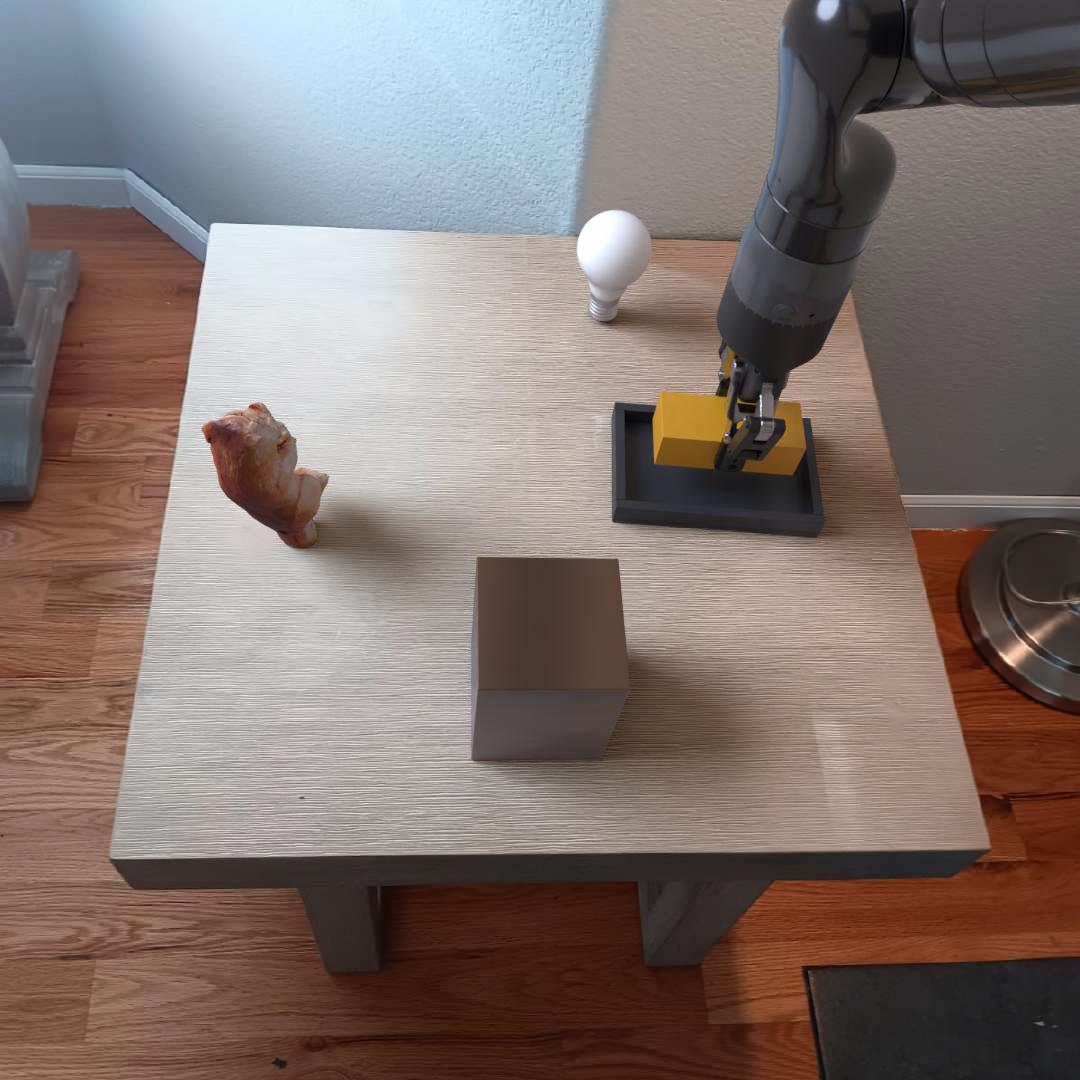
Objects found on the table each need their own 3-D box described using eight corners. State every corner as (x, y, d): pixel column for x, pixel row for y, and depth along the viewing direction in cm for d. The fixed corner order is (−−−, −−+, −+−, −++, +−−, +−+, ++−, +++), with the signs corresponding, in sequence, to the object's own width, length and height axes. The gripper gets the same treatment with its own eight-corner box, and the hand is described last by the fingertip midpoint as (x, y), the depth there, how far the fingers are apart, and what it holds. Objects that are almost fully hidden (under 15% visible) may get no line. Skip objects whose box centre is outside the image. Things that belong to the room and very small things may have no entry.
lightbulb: (592, 351, 89) (611, 256, 80) (553, 305, 92) (566, 208, 83) (649, 326, 92) (673, 230, 82) (609, 281, 94) (628, 184, 85)
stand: (593, 642, 74) (618, 558, 64) (602, 759, 69) (630, 689, 59) (471, 641, 73) (476, 556, 63) (471, 760, 69) (477, 689, 58)
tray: (817, 537, 81) (825, 523, 79) (611, 522, 80) (615, 507, 78) (802, 433, 86) (810, 418, 85) (611, 417, 86) (615, 401, 84)
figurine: (339, 499, 79) (321, 371, 66) (309, 582, 75) (283, 461, 62) (263, 483, 79) (230, 352, 66) (229, 565, 75) (186, 441, 62)
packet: (787, 430, 81) (800, 402, 78) (792, 475, 79) (806, 448, 76) (652, 419, 81) (660, 390, 78) (654, 464, 78) (662, 437, 75)
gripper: (861, 368, 61) (779, 521, 76) (832, 210, 69) (763, 376, 83) (739, 357, 61) (681, 513, 75) (724, 200, 68) (674, 368, 83)
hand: (724, 440), depth 79 cm, fingers closed on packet, 4 cm apart
